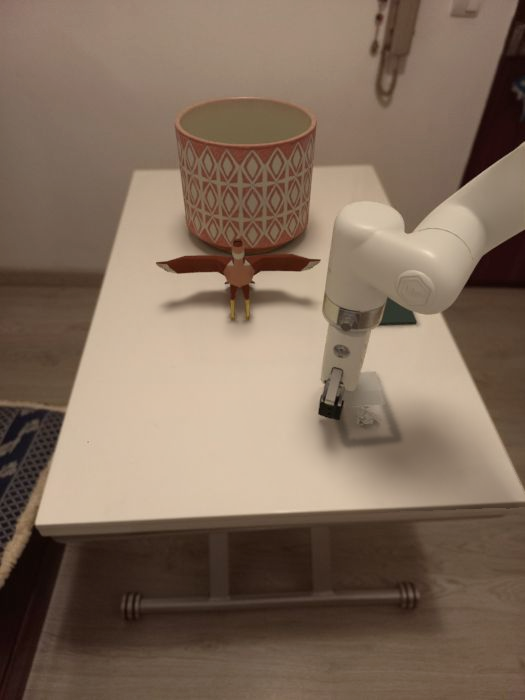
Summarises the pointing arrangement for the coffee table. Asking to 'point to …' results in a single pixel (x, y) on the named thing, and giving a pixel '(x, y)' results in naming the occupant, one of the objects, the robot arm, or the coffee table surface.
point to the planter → (246, 170)
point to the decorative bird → (238, 267)
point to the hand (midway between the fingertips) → (335, 393)
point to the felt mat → (396, 314)
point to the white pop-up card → (364, 397)
